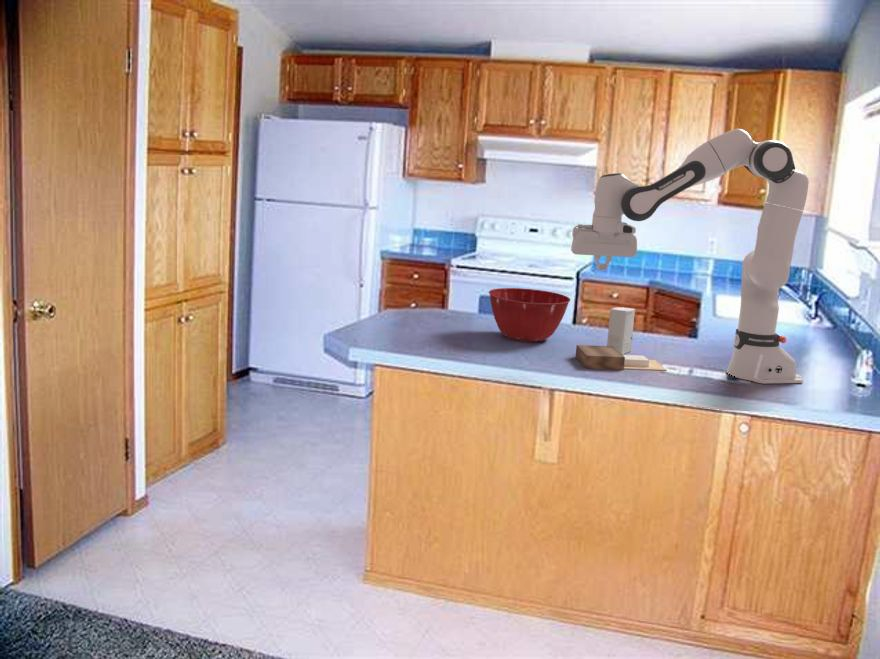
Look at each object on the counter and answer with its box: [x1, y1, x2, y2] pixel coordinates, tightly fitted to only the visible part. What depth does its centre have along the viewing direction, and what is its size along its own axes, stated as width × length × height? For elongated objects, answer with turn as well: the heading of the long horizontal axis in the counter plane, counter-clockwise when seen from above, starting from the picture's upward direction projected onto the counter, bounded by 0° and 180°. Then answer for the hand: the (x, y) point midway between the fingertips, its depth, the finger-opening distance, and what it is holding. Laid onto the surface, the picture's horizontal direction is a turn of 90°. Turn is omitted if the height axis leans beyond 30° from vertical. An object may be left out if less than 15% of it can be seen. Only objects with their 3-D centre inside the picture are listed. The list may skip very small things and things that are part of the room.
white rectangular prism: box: [623, 354, 650, 367], centre depth 278 cm, size 9×6×2 cm, turn 94°
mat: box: [624, 359, 667, 371], centre depth 278 cm, size 14×12×1 cm
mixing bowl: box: [488, 287, 571, 343], centre depth 305 cm, size 28×28×15 cm
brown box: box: [575, 344, 625, 371], centre depth 276 cm, size 12×14×4 cm
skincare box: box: [606, 306, 636, 355], centre depth 293 cm, size 8×6×15 cm
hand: (601, 270), depth 274 cm, fingers closed
